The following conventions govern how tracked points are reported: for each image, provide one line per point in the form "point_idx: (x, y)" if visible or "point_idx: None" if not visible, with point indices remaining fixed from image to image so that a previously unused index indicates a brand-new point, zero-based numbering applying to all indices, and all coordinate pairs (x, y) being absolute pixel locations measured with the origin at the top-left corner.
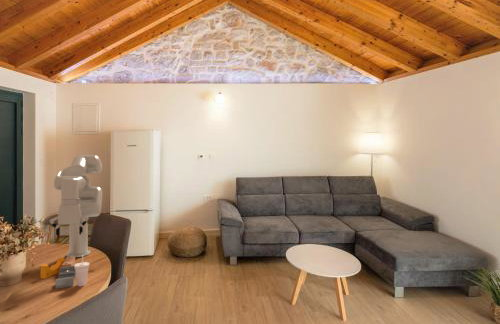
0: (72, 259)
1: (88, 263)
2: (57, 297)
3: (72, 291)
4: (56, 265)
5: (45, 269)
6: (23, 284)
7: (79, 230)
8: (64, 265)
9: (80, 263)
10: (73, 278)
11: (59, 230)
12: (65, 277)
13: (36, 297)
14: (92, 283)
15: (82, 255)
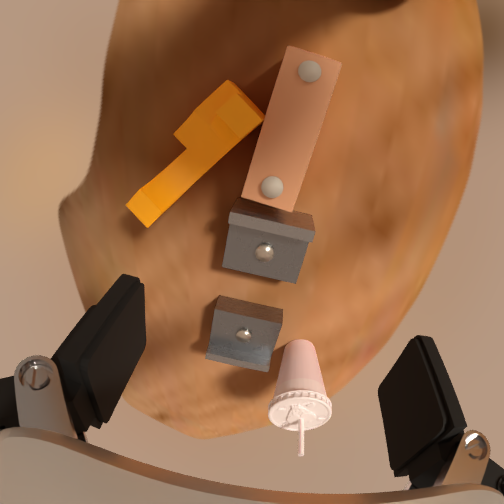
0: (316, 124)
1: (326, 416)
2: (218, 387)
3: (261, 378)
4: (218, 130)
5: (157, 218)
6: (104, 224)
7: (386, 435)
8: (255, 198)
9: (296, 411)
10: (274, 344)
11: (112, 369)
12: (247, 317)
13: (163, 357)
14: (333, 358)
15: (299, 455)
